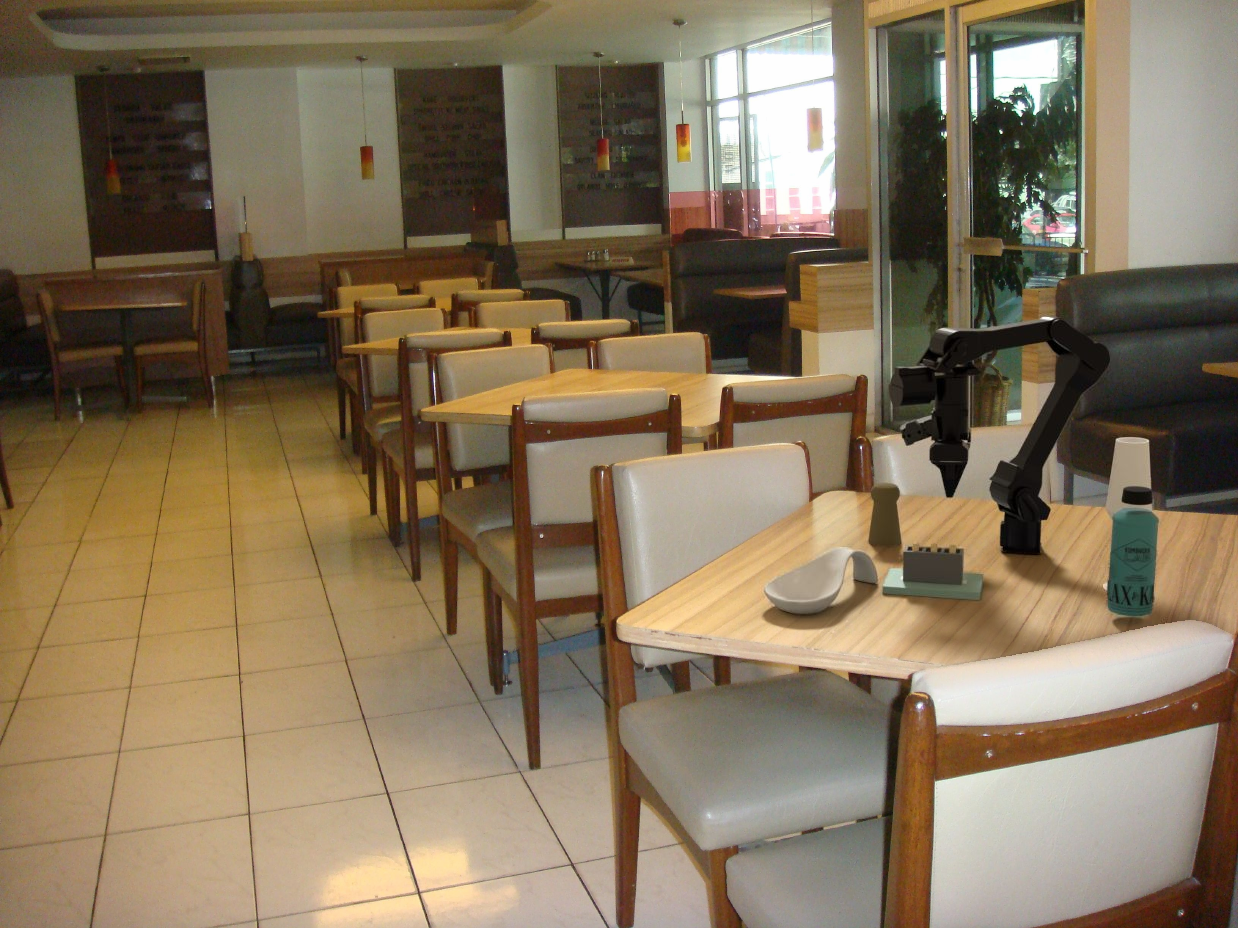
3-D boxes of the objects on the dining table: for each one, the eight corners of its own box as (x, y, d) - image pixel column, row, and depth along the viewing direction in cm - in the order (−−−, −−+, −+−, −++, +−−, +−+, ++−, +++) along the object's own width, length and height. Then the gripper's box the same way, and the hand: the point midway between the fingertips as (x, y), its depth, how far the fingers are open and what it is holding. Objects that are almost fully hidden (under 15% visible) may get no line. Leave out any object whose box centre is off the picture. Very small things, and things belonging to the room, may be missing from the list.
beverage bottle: (1097, 613, 181) (1103, 483, 177) (1140, 610, 182) (1147, 481, 177) (1118, 628, 175) (1125, 494, 171) (1163, 625, 175) (1171, 491, 171)
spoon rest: (811, 627, 181) (811, 581, 179) (749, 611, 189) (748, 567, 187) (896, 588, 197) (896, 545, 196) (835, 575, 205) (835, 534, 204)
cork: (902, 546, 219) (902, 487, 217) (868, 546, 220) (868, 487, 218) (901, 537, 225) (901, 480, 223) (868, 537, 226) (868, 479, 224)
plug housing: (963, 578, 196) (963, 548, 195) (961, 584, 193) (962, 554, 192) (905, 574, 199) (905, 545, 198) (902, 581, 196) (903, 551, 195)
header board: (983, 580, 198) (984, 538, 197) (979, 600, 189) (980, 555, 187) (890, 574, 203) (890, 533, 202) (882, 593, 194) (882, 550, 192)
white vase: (1127, 597, 188) (1135, 446, 182) (1092, 586, 193) (1099, 439, 188) (1157, 589, 191) (1165, 440, 185) (1121, 579, 196) (1129, 434, 191)
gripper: (907, 393, 218) (907, 477, 221) (898, 412, 200) (898, 503, 204) (971, 393, 214) (970, 479, 217) (968, 412, 197) (967, 504, 200)
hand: (950, 491), depth 210 cm, fingers open, 9 cm apart
